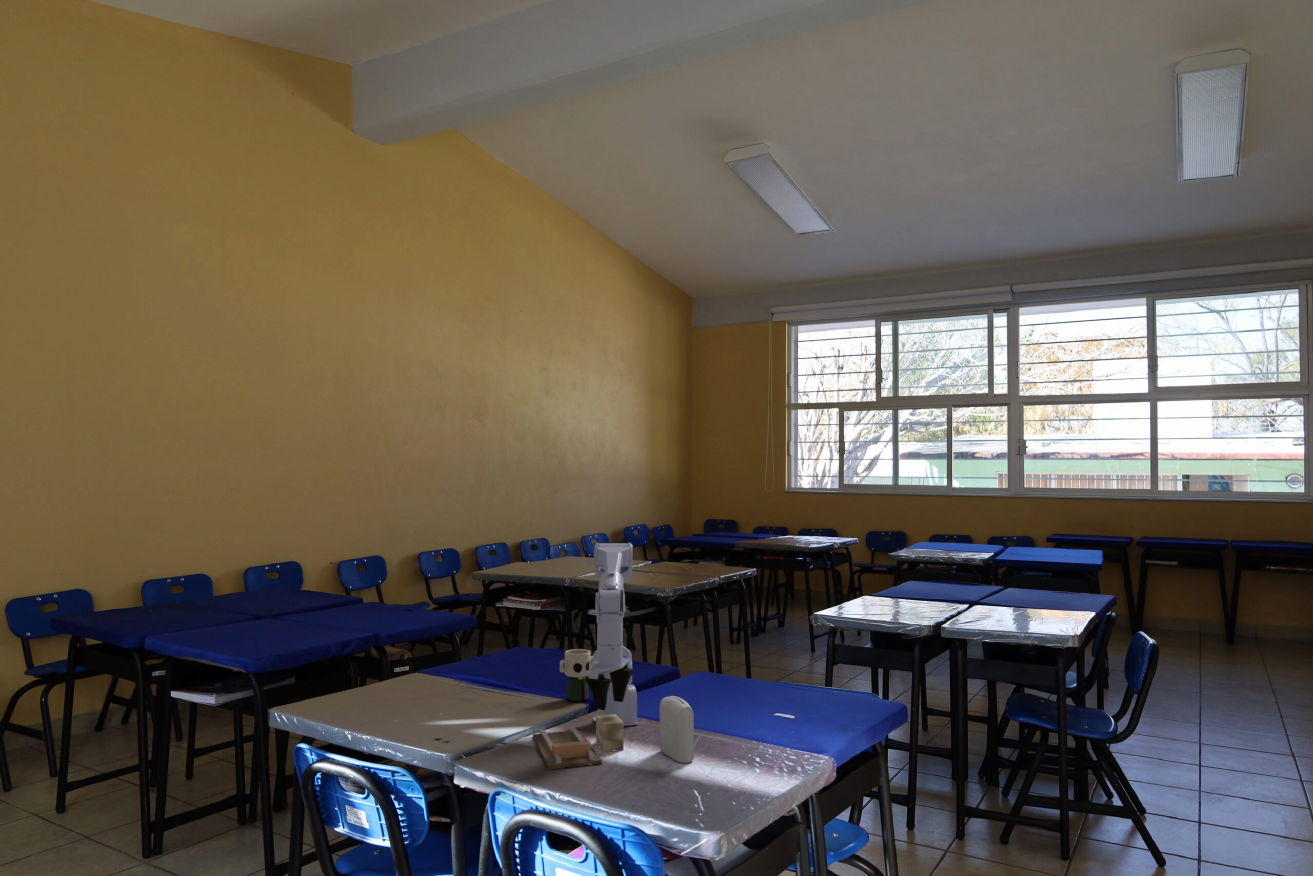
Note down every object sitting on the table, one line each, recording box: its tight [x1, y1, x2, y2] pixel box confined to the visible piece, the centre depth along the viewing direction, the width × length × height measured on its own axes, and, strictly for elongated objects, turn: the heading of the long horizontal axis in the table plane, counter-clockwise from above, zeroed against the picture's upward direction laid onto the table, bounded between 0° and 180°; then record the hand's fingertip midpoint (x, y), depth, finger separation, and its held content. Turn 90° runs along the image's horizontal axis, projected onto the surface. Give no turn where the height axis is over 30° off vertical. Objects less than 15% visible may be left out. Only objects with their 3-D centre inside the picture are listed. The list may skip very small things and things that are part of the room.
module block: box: [595, 714, 625, 752], centre depth 179 cm, size 4×7×6 cm, turn 18°
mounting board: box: [532, 729, 603, 770], centre depth 176 cm, size 11×22×1 cm, turn 18°
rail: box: [538, 725, 594, 764], centre depth 176 cm, size 8×21×1 cm, turn 18°
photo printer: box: [659, 695, 695, 764], centre depth 172 cm, size 10×4×12 cm, turn 26°
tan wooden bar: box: [552, 740, 592, 759], centre depth 170 cm, size 8×2×2 cm, turn 108°
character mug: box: [559, 648, 593, 702], centre depth 218 cm, size 11×7×13 cm, turn 125°
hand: (609, 705), depth 179 cm, fingers open, 7 cm apart
